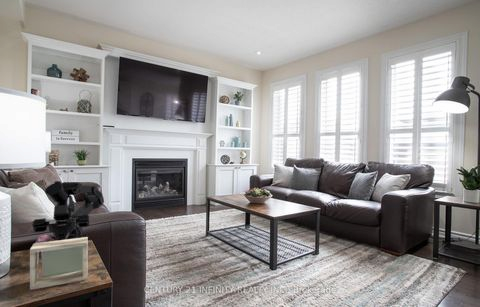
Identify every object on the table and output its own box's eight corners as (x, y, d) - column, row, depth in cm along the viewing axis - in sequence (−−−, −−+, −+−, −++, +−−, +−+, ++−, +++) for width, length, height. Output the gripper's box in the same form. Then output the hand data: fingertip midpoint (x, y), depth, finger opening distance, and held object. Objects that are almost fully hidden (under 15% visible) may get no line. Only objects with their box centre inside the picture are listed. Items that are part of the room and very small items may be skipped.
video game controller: (47, 248, 123) (39, 235, 122) (57, 242, 125) (49, 229, 124) (40, 256, 114) (31, 242, 113) (51, 250, 116) (42, 236, 114)
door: (42, 275, 94) (42, 246, 93) (82, 267, 100) (83, 241, 100) (41, 278, 91) (41, 249, 91) (82, 270, 97) (83, 243, 97)
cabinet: (34, 281, 90) (33, 243, 90) (87, 272, 97) (87, 236, 97) (30, 289, 85) (29, 249, 85) (86, 279, 92) (86, 242, 92)
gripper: (33, 198, 102) (26, 235, 93) (89, 195, 111) (88, 228, 102) (37, 214, 109) (31, 250, 100) (89, 209, 118) (89, 242, 109)
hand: (60, 242), depth 102 cm, fingers closed
